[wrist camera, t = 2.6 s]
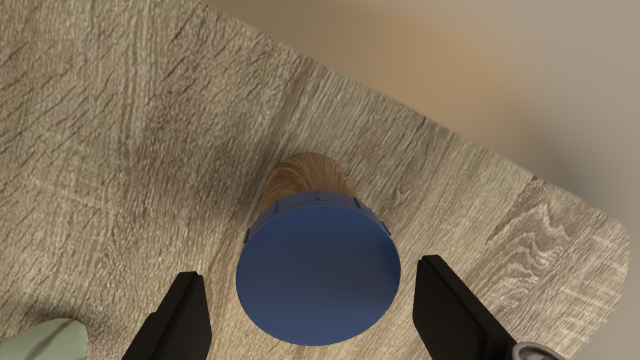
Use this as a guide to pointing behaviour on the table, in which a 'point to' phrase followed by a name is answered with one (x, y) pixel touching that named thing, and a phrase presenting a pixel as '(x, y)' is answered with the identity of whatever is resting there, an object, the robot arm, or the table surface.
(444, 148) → the table surface
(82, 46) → the table surface
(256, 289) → the lid
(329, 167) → the jar
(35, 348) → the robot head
